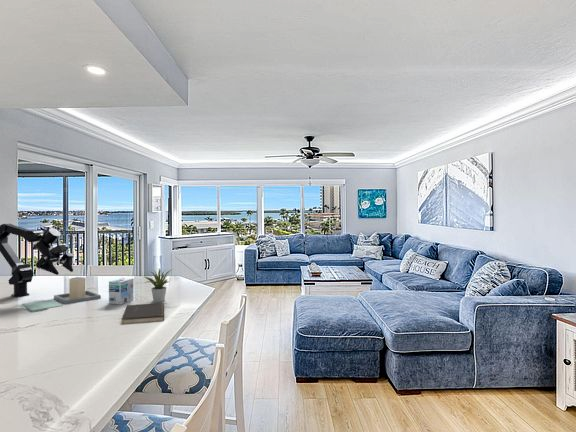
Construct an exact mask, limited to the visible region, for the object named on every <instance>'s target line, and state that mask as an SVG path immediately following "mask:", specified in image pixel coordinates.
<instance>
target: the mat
mask: <svg viewBox="0 0 576 432" xmlns="http://www.w3.org/2000/svg"><path fill="white" fill-rule="evenodd" d="M21 305H22V306H24V308H25V309H27V310H28V311H30V312H32V313H34V312H39V311H47V310H48V309H53V308H58V307H63V304H61V303H59V301H56V300H53V299H46V300H38V301H32V302H26V303H25V302H24V303H22V304H21Z"/></svg>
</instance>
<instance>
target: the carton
mask: <svg viewBox="0 0 576 432" xmlns="http://www.w3.org/2000/svg"><path fill="white" fill-rule="evenodd" d="M68 282H69V283H68V286H69V287H68V288H69V289H68V293H69V299H77V298H83V297H85V291H86V277H83V276H76V277H71V278H69V281H68Z"/></svg>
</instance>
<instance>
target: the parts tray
mask: <svg viewBox="0 0 576 432" xmlns="http://www.w3.org/2000/svg"><path fill="white" fill-rule="evenodd" d="M101 298H102V297H101V294H98V293H96V292H93V291H91V290H85V297H83V298H77V299H69V292H68V293H60V294H54V295H53V299H55V301H56V300H57V302H60V303H62V304H65V305H69V304H74V303H75V304H76V303H79V302H86V301H92V300H93V301H94V300H99V299H101Z"/></svg>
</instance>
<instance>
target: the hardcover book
mask: <svg viewBox="0 0 576 432" xmlns="http://www.w3.org/2000/svg"><path fill="white" fill-rule="evenodd" d="M121 321H122V324H131V323H132V322H134V323H143V322H144V323H145V322H157V321H165V304H164V302H154V303H141V304H140V303H139V304H126V306H125V309H124V312H123V315H122V317H121ZM132 324H133V323H132Z"/></svg>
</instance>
